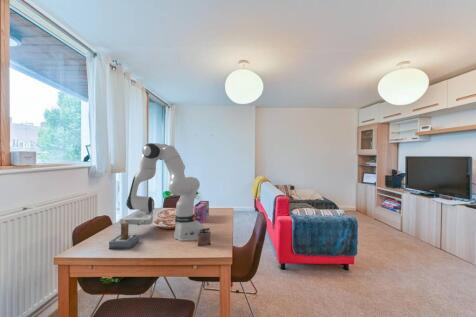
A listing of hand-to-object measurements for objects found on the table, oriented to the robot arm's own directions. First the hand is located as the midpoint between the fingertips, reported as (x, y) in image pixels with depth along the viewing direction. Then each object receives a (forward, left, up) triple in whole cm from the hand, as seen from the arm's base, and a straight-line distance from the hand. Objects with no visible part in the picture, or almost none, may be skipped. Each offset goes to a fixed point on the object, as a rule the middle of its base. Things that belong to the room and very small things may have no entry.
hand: (131, 224), depth 146 cm
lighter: (-47, +8, -10) cm, 49 cm away
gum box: (-37, -49, -10) cm, 63 cm away
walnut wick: (0, +9, -9) cm, 12 cm away
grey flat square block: (0, +9, -10) cm, 13 cm away
